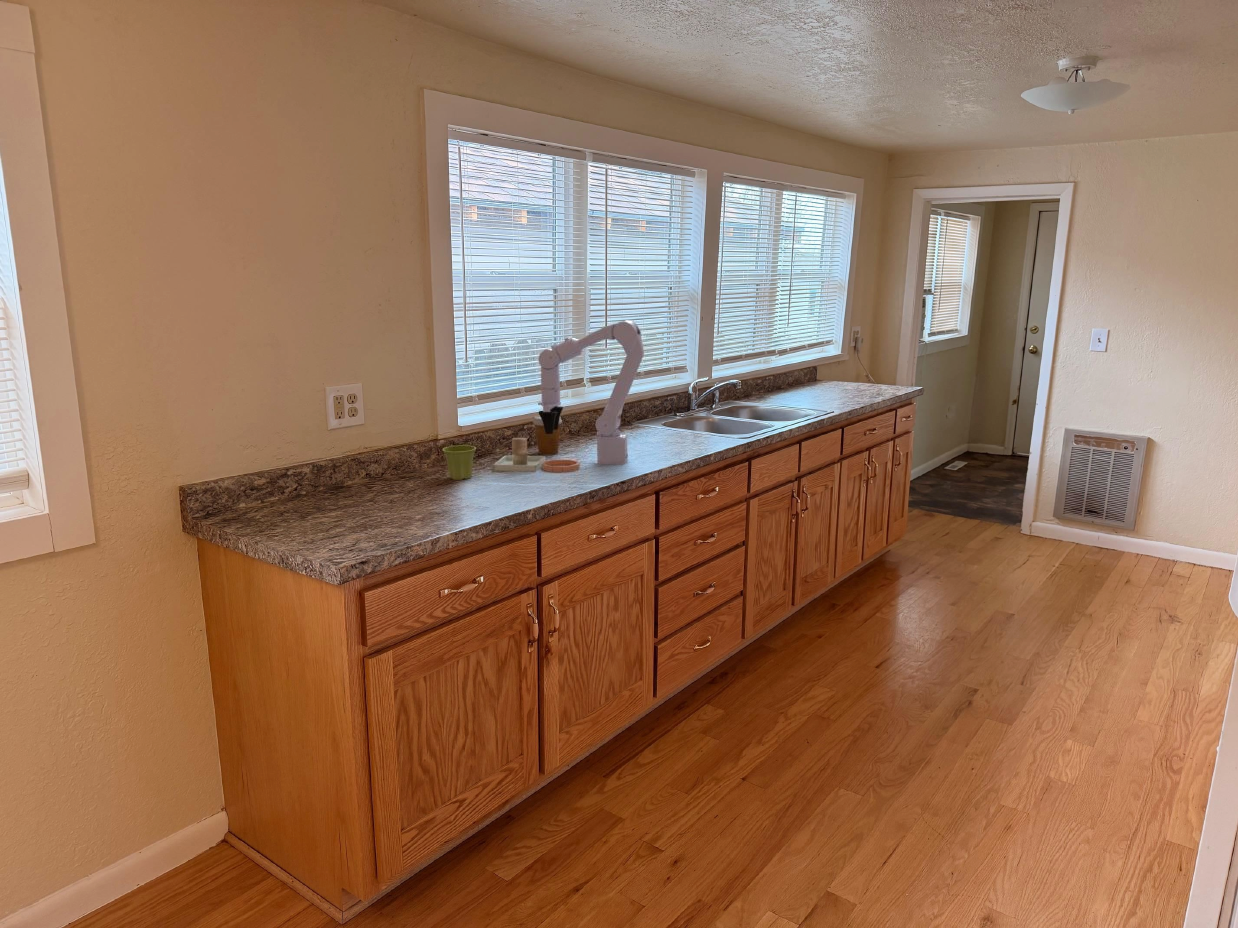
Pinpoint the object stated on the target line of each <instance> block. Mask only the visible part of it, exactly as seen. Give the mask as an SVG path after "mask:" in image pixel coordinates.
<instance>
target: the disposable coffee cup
mask: <svg viewBox="0 0 1238 928" xmlns="http://www.w3.org/2000/svg"><path fill="white" fill-rule="evenodd" d="M562 422H563V420H562V418H561V416H560V419H559V425H558V429H557V430H553V434H546V433H545V429H544V425H543V421H542V419H541V417H540V415H536V416H534V418H533V420H532V423H533V424H534V431H535V438H536V443H537V449H538V454H540V455H541V456H546V455H548V456H549V455H552V454H553V455H556V454H558V453H559V444H560V437H561V426H562V425H561V424H562Z"/></svg>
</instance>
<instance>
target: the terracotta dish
mask: <svg viewBox="0 0 1238 928" xmlns="http://www.w3.org/2000/svg"><path fill="white" fill-rule="evenodd" d="M580 468H581V463H580V461H578V460H574V459H569V458H567V459H563V458H561V459H560V458H559V459H550V460H546V461H545V462H543V463H542V466H541V470H543V471H545V472H548V473H549V472H550V473H565V472H566V473H567V472H568V473H569V472H575V471H578V470H579V469H580Z"/></svg>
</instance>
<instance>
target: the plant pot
mask: <svg viewBox="0 0 1238 928" xmlns="http://www.w3.org/2000/svg"><path fill="white" fill-rule="evenodd" d="M476 449H477V447H476V446H474V445H466V444H465V445H463V444H462V445H461V444H460V445H450V446H446V447H443V448H442V452H443V454H444V457H445V459H446V465H447V468H448V474H449V478H450V479H452V480H455V481H456V480H457V481H462V480H463V479H466V480H467V479H471V478H472V474H473V461H474V455H475V451H476Z"/></svg>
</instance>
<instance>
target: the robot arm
mask: <svg viewBox="0 0 1238 928" xmlns="http://www.w3.org/2000/svg"><path fill="white" fill-rule="evenodd" d="M604 340H609V341H614V340H616V341H617V342H618V343H619V344H620V346H622V349H623V350H624V353H625V354H626V357H625V358H624V361H623V364H622V366H621V369H620V372H619V374H618V377H617V380H616V382H615V384H614V387H613V389H612V391H611V394H610V397H609V398H608V402H607V404H606V406H605V407H604V409H603V411H602V414H601V415H600V416H598V418H597V419H596V421H595V428H596V431H597V432H596V460H595V461H594V463H593V464H594V465H595V464H596V465H626V464H627V462H628V460H629V458H628V457H629V453H628V435H627V434H621V431H620V430H619V428H620V426H621V423H622V422H621V421H622V420H621V416H622V412H623V408H624V405H625V402H626V401H627V397H628V395H629V393H630V391H631V388H632V385H633V383H634V380H635V378H636V375H637V372H638V371H639V367H640V365H641V363H642V360H643V358H644V355H645V354H644V353H645V351H644V345H643V340H642V331H641V329H640V328H639V326H638V324H637V323H636V322H635V321H634V320H631V319H626V320H622V321H618V322H617V323H613V324H609V325H606V326H603V327H601V328H599V329H596V330H595V331H593V332H591V333H589V334H587V335H584V336H583V337H581V338H579V339H577V338H575V337H571V338H570V337H566V338H565V339H564V341H563V342H560V343H557V344H556V345H555V344H552V345H550V348H548V349H547V348H545V349H543V351H541V353H540V354H539V355H538V363H539V365H540V388H541V389H540V391H541V401H539V402H537V405H538V406H542V410H539V411H538V416H540V417H541V419H542V421H543V425H544V429H545V433H546V434H553V430H557V429H558V425H559V419H560V417H561V414H562V411H563V410H564V406H561V405H562V402H561V385H560V384H561V381H560V380H561V379H560V378H561V377H560V364H564V363H565V362H569V361H570V360H572V359H574V358H577V357H579V356H581V355H582V352H583V350H584V349H585V348H587V347H588V348H589V347H590V346H592V345H595V344H597V343H600V342H601V341H604Z"/></svg>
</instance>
